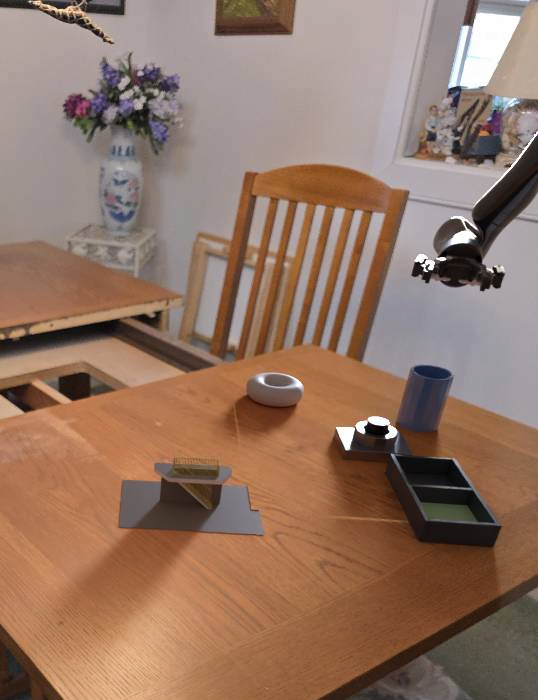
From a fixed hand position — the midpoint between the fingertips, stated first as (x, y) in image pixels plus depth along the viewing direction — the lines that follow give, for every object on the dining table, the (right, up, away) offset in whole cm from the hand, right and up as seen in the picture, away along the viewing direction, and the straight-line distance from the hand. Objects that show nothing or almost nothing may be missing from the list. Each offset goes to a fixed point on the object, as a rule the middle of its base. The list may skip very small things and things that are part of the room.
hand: (456, 281), depth 114 cm
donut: (-28, -17, +9) cm, 34 cm away
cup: (-5, -23, +3) cm, 23 cm away
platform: (-45, -38, -22) cm, 62 cm away
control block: (-16, -28, -6) cm, 33 cm away
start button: (-16, -26, -8) cm, 31 cm away
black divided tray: (-12, -37, -19) cm, 44 cm away
